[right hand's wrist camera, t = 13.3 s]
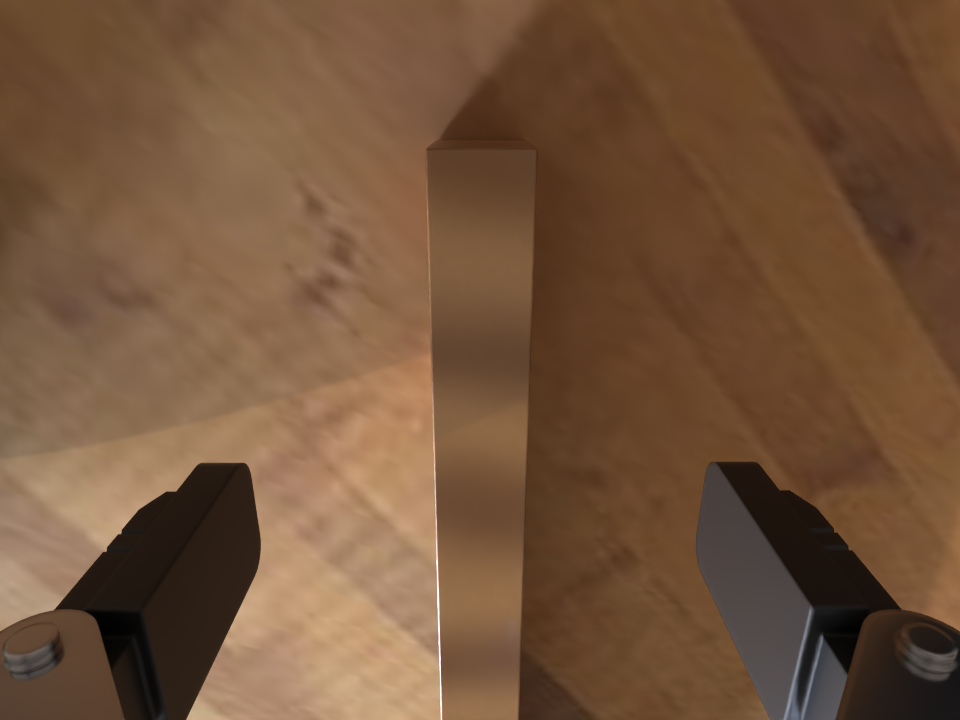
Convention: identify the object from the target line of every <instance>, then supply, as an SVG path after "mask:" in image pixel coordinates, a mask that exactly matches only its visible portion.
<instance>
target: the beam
mask: <svg viewBox="0 0 960 720" xmlns="http://www.w3.org/2000/svg"><path fill="white" fill-rule="evenodd" d="M425 158H426V194H427V231H428V267H429V303H430V339H431V375H432V412H433V448H434V484H435V520H436V556H437V593H438V629H439V665H440V701H441V720H519V698H520V668H521V637H522V606H523V576H524V545H525V515H526V484H527V454H528V423H529V393H530V362H531V332H532V301H533V270H534V240H535V209H536V179H537V149H536V148H535V147H533V146H532V145H531V144H530V143H528V142H527V141H525V140H437V141H435V142H434V143H433V144H431V145H430V146H429V147H428V148H426V150H425Z"/></svg>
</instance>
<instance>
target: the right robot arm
mask: <svg viewBox="0 0 960 720" xmlns="http://www.w3.org/2000/svg"><path fill="white" fill-rule="evenodd" d="M260 551H261V539H260V531H259V525H258V518H257V511H256V505H255V498H254V491H253V484H252V478H251V473H250V470H249V467H248V466H247V464H245V463H200V464H198V465H197V466H196V467H195V469H194V470H193V471H192V472H191V474H190V475H189V476H188V478H187V479H186V480H185V481H184V483H183V484H182V485H181V486H180V488H179V489H178V490H177V491H176V492H165V493H164V494H162V495H161V496H159V497H158V498H156V499H154V500H153V501H151V502H150V503H148V504H147V505H145V506H144V507H142V508H141V509H139V510H138V511H137V513H136V514H135V515H134V516H133V517H132V519H131V520H130V521H129V522H128V523H127V525H126V526H125V527H124V528H123V529H122V533H121V534H118V535H117V536H116V538H115V539H114V540H113V541H112V542H111V543H110V545H109V546H108V547H107V552H103V553H102V554H101V555H100V556H99V558H98V559H97V560H96V561H95V562H94V564H93V565H92V566H91V567H90V568H89V569H88V571H87V572H86V573H85V574H84V575H83V577H82V578H81V579H80V580H79V581H78V582H77V584H76V585H75V586H74V587H73V588H72V590H71V591H70V592H69V593H68V594H67V596H66V597H65V598H64V599H63V600H62V601H61V603H60V604H59V605H58V606H57V607H56V609H55V610H54V611H48V612H44V613H40V614H37V615H34V616H31V617H28V618H26V619H23V620H21V621H18V622H16V623H15V624H13V625H11V626H9V627H7V628H5V629H4V630H2V631H0V720H186V719H187V717H188V714H189V712H190V710H191V708H192V706H193V704H194V702H195V700H196V698H197V696H198V694H199V691H200V689H201V687H202V685H203V683H204V681H205V679H206V677H207V675H208V673H209V671H210V669H211V666H212V664H213V662H214V660H215V658H216V656H217V654H218V652H219V650H220V648H221V646H222V644H223V641H224V639H225V637H226V635H227V633H228V631H229V629H230V627H231V625H232V623H233V621H234V618H235V616H236V614H237V612H238V610H239V608H240V606H241V604H242V602H243V600H244V598H245V596H246V593H247V591H248V589H249V587H250V585H251V583H252V581H253V579H254V577H255V574H256V572H257V569H258V565H259V560H260ZM696 553H697V560H698V565H699V568H700V571H701V574H702V576H703V578H704V580H705V583H706V585H707V587H708V589H709V591H710V593H711V595H712V597H713V599H714V602H715V604H716V606H717V608H718V610H719V612H720V614H721V616H722V618H723V621H724V623H725V625H726V627H727V629H728V631H729V633H730V635H731V637H732V640H733V642H734V644H735V646H736V648H737V650H738V652H739V654H740V656H741V659H742V661H743V663H744V665H745V667H746V669H747V671H748V673H749V675H750V678H751V680H752V682H753V684H754V686H755V688H756V690H757V692H758V694H759V697H760V699H761V701H762V703H763V705H764V707H765V709H766V711H767V713H768V716H769V718H770V720H960V631H958V630H956V629H955V628H953V627H951V626H949V625H947V624H945V623H944V622H942V621H939V620H937V619H934V618H932V617H929V616H926V615H923V614H920V613H916V612H912V611H906V610H902V609H901V608H900V607H899V606H898V605H897V604H896V602H895V601H894V600H893V599H892V598H891V596H890V595H889V594H888V593H887V592H886V590H885V589H884V588H883V587H882V586H881V584H880V583H879V582H878V581H877V580H876V578H875V577H874V576H873V575H872V574H871V572H870V571H869V570H868V569H867V568H866V567H865V565H864V564H863V563H862V562H861V561H860V559H859V558H858V557H857V556H856V555H855V553H854V552H853V551H852V550H849V549H848V545H847V544H846V543H845V541H844V540H843V539H842V538H841V537H840V535H839V534H838V533H834V528H833V527H832V526H831V525H830V524H829V522H828V521H827V520H826V519H825V518H824V516H823V515H822V514H821V513H820V512H819V510H818V509H817V508H816V507H814V506H813V505H811V504H810V503H808V502H806V501H805V500H803V499H802V498H800V497H799V496H797V495H796V494H794V493H793V492H791V491H790V490H779V489H778V488H777V487H776V485H775V484H774V483H773V481H772V480H771V479H770V478H769V476H768V475H767V474H766V472H765V471H764V470H763V469H762V467H761V466H760V465H759V464H758V463H756V462H711V463H710V464H709V465H708V467H707V470H706V474H705V480H704V487H703V494H702V501H701V508H700V514H699V521H698V528H697V535H696Z"/></svg>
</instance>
